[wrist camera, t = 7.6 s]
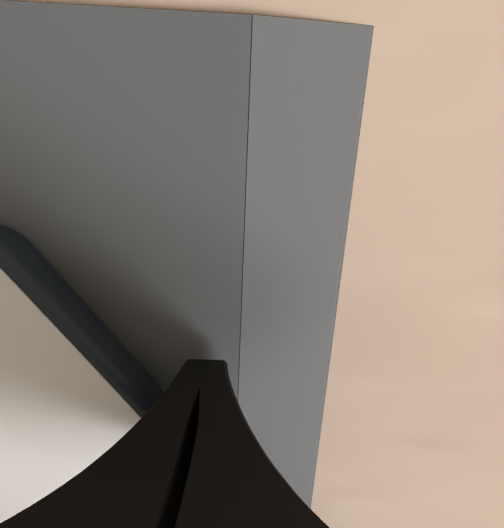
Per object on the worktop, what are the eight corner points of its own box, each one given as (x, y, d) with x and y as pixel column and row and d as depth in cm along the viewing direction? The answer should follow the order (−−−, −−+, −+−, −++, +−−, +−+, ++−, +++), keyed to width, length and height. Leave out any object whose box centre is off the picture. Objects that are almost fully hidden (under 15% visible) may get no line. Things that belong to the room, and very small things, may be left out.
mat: (301, 567, 16) (303, 581, 16) (-124, 566, 15) (-137, 581, 15) (371, 27, 9) (378, 22, 9) (-371, -15, 9) (-410, -25, 8)
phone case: (-196, 357, 12) (132, 626, 16) (-261, 389, 10) (120, 677, 15) (9, 198, 10) (309, 540, 15) (-32, 209, 9) (317, 587, 13)
